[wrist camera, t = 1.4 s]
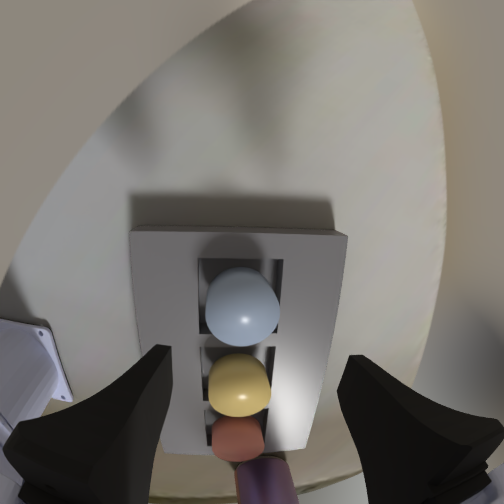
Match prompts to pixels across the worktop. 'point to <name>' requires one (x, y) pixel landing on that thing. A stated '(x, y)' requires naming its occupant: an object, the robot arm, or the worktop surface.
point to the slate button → (241, 307)
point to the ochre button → (238, 385)
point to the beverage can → (265, 482)
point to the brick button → (237, 438)
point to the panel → (211, 348)
